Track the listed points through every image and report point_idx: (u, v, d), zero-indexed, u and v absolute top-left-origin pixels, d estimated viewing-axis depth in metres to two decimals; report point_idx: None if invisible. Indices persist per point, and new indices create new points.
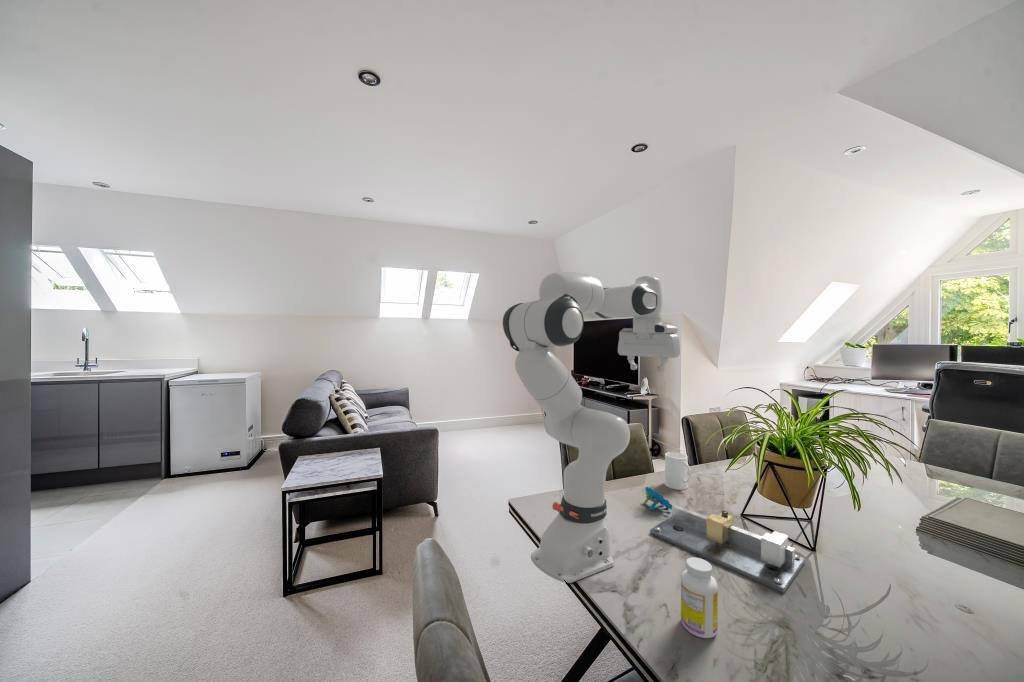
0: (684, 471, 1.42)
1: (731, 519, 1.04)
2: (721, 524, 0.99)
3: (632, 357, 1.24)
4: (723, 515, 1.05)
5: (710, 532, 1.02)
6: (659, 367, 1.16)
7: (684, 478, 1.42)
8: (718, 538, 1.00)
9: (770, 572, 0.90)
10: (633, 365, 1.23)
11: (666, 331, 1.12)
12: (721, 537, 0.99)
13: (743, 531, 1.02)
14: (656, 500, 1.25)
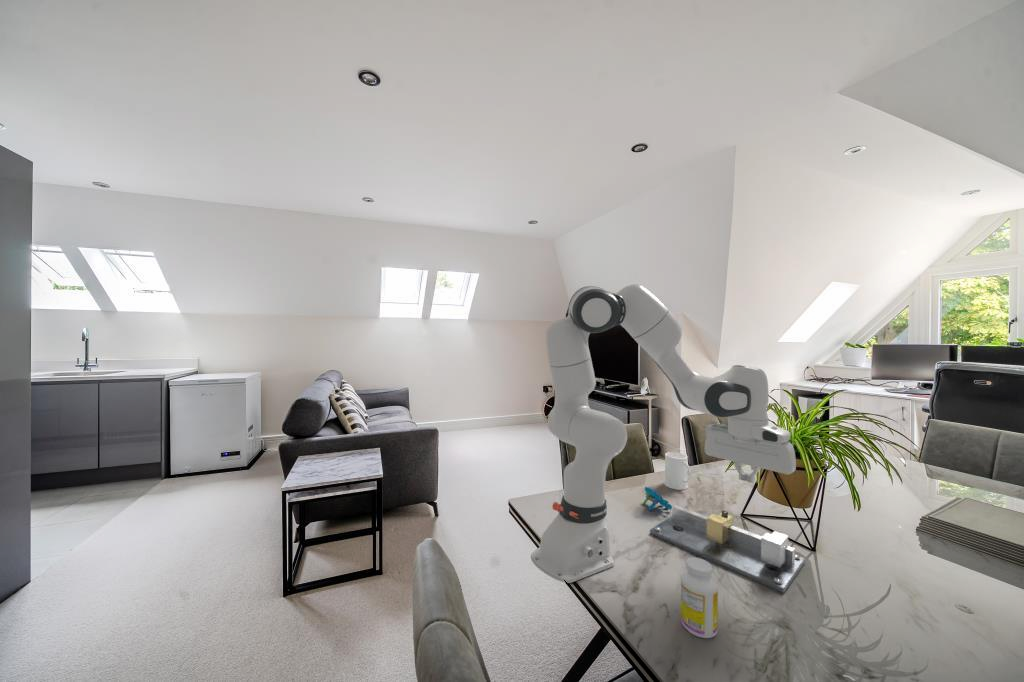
0: (684, 471, 1.42)
1: (731, 519, 1.04)
2: (721, 524, 0.99)
3: (741, 464, 0.97)
4: (723, 515, 1.05)
5: (710, 532, 1.02)
6: (748, 476, 0.95)
7: (684, 478, 1.42)
8: (718, 538, 1.00)
9: (770, 572, 0.90)
10: (743, 475, 0.96)
11: (780, 441, 0.88)
12: (721, 537, 0.99)
13: (743, 531, 1.02)
14: (655, 500, 1.25)
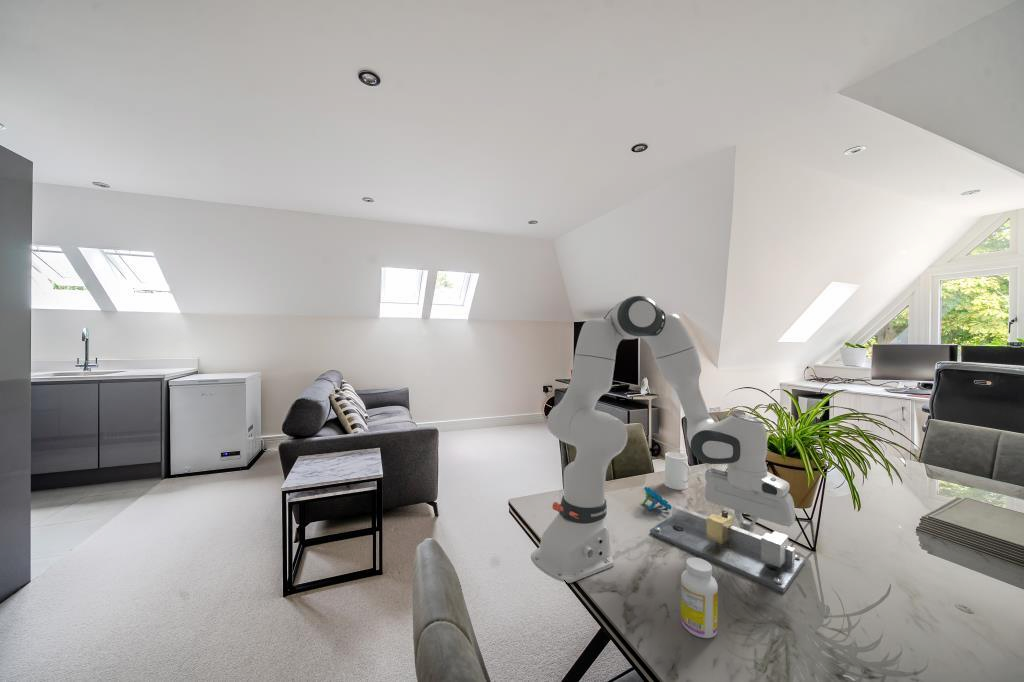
0: (684, 471, 1.42)
1: (731, 519, 1.04)
2: (721, 524, 0.99)
3: (741, 512, 0.98)
4: (723, 515, 1.05)
5: (710, 532, 1.02)
6: (748, 525, 0.96)
7: (684, 478, 1.42)
8: (718, 538, 1.00)
9: (770, 572, 0.90)
10: (744, 524, 0.97)
11: (780, 495, 0.89)
12: (721, 537, 0.99)
13: (743, 531, 1.02)
14: (655, 500, 1.25)
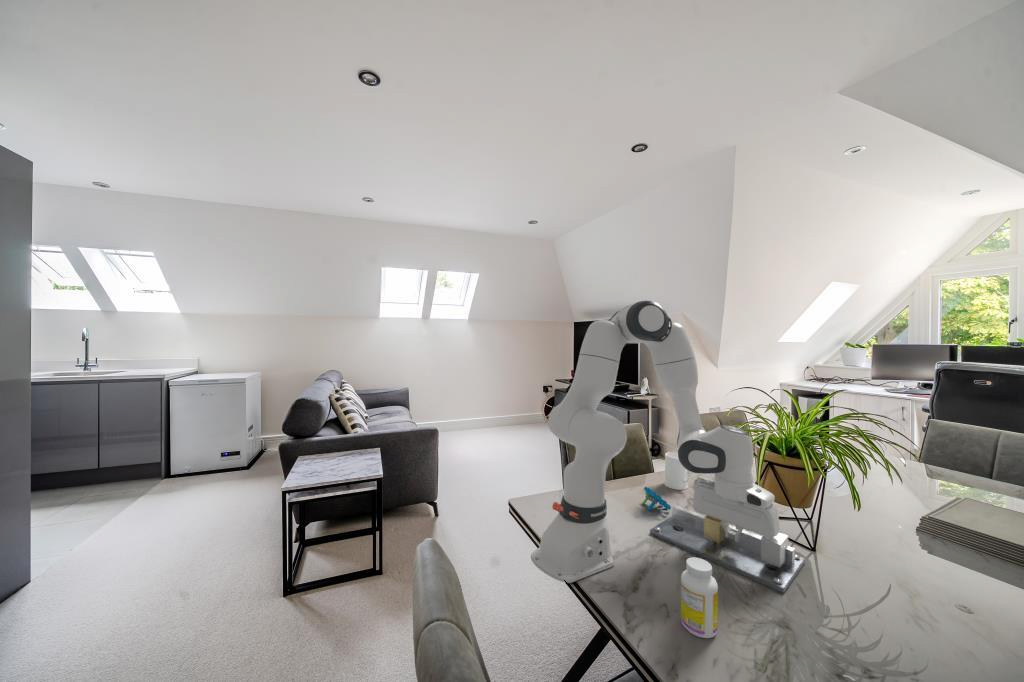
0: (684, 471, 1.42)
1: None
2: (718, 523, 1.00)
3: (727, 522, 1.00)
4: None
5: (707, 531, 1.02)
6: (733, 535, 0.98)
7: (684, 478, 1.42)
8: (715, 537, 1.01)
9: (770, 572, 0.90)
10: (729, 534, 0.99)
11: (764, 506, 0.91)
12: (718, 536, 1.00)
13: (743, 531, 1.02)
14: (654, 500, 1.25)
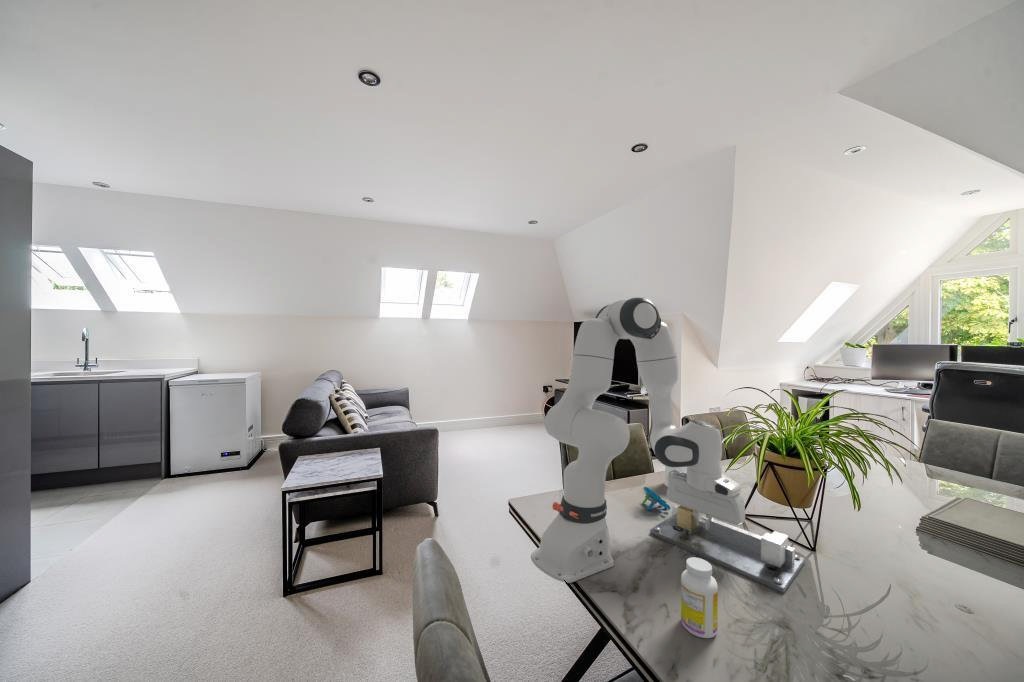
0: (684, 471, 1.42)
1: None
2: (690, 512, 1.06)
3: (698, 511, 1.06)
4: None
5: (680, 520, 1.08)
6: (704, 523, 1.04)
7: None
8: (687, 526, 1.06)
9: (770, 572, 0.90)
10: (700, 522, 1.05)
11: (730, 495, 0.97)
12: (690, 525, 1.06)
13: (743, 531, 1.02)
14: (654, 500, 1.25)
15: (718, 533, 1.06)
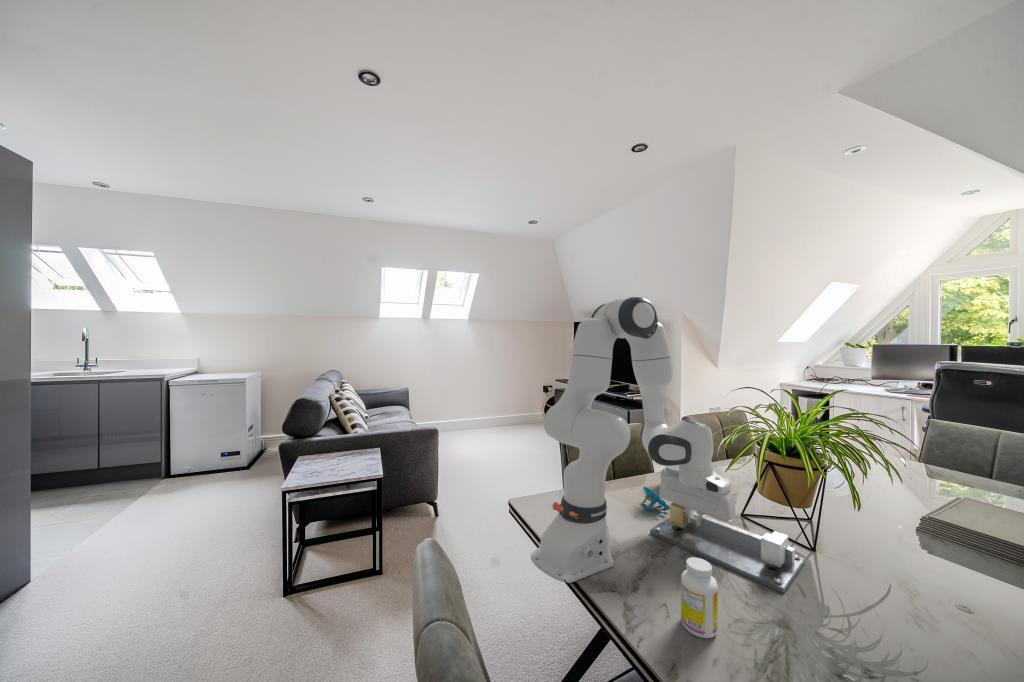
0: None
1: None
2: (682, 510, 1.08)
3: (690, 508, 1.07)
4: None
5: (672, 517, 1.10)
6: (695, 520, 1.06)
7: None
8: (679, 523, 1.08)
9: (770, 572, 0.90)
10: (692, 519, 1.06)
11: (720, 492, 0.98)
12: (682, 522, 1.08)
13: (743, 531, 1.02)
14: (653, 500, 1.25)
15: (718, 533, 1.06)
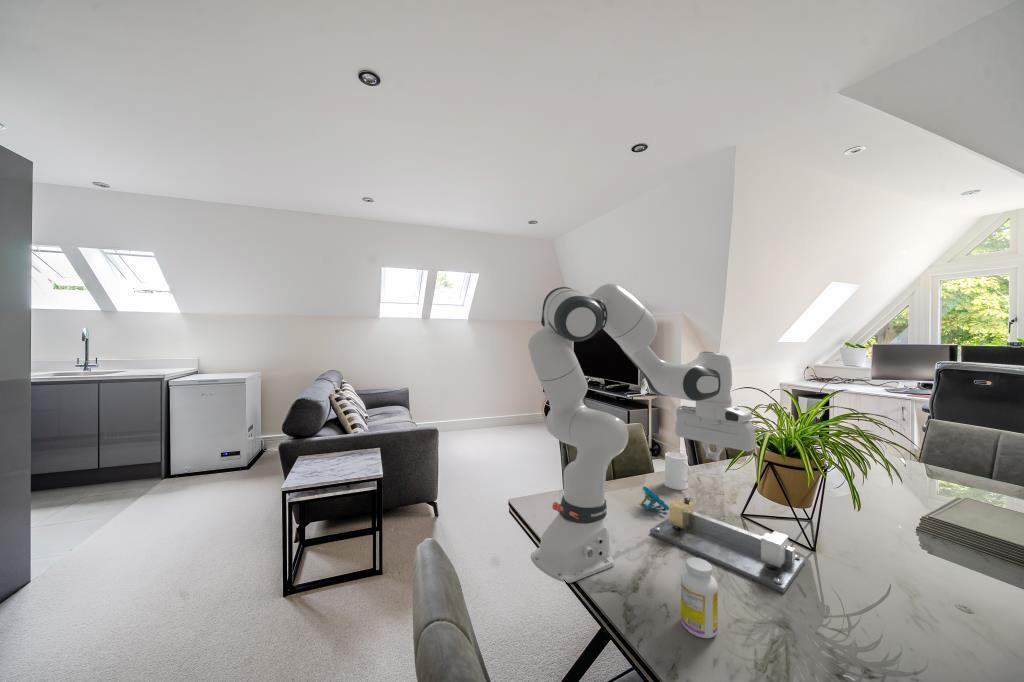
0: (684, 471, 1.42)
1: (692, 505, 1.13)
2: (681, 509, 1.08)
3: (708, 444, 1.04)
4: (685, 502, 1.13)
5: (672, 517, 1.10)
6: (713, 455, 1.02)
7: (684, 478, 1.42)
8: (679, 522, 1.08)
9: (770, 572, 0.90)
10: (710, 454, 1.03)
11: (741, 421, 0.95)
12: (681, 521, 1.08)
13: (743, 531, 1.02)
14: (652, 500, 1.25)
15: (718, 533, 1.06)
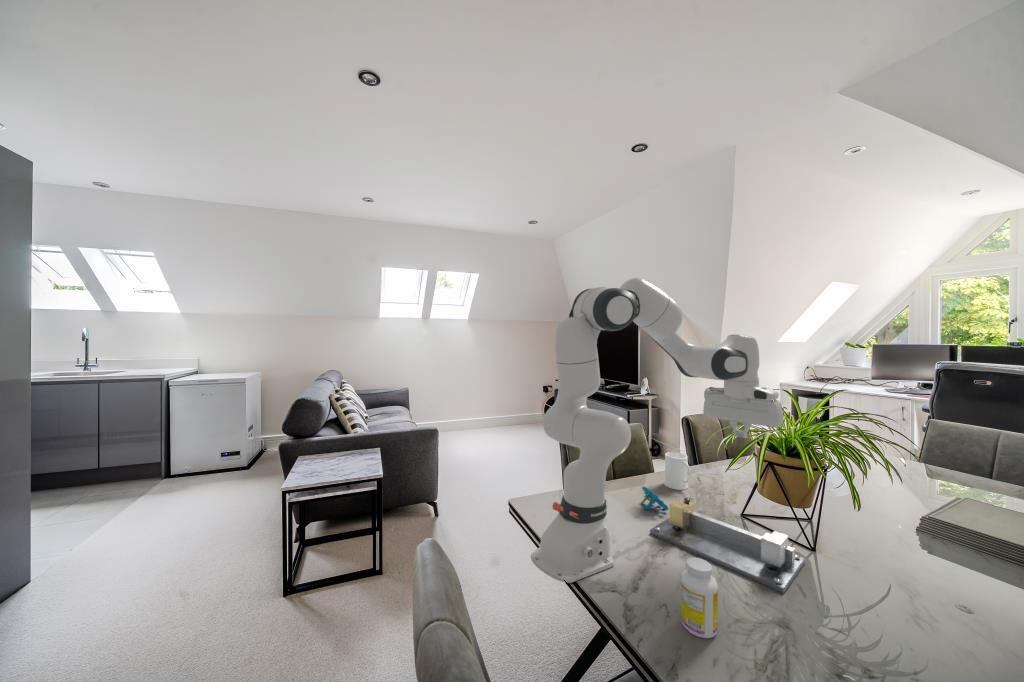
0: (684, 471, 1.42)
1: (692, 505, 1.13)
2: (681, 509, 1.08)
3: (735, 422, 1.10)
4: (685, 502, 1.13)
5: (672, 517, 1.10)
6: (741, 432, 1.08)
7: (684, 478, 1.42)
8: (679, 522, 1.08)
9: (770, 572, 0.90)
10: (738, 432, 1.09)
11: (769, 398, 1.01)
12: (681, 521, 1.08)
13: (743, 531, 1.02)
14: (652, 500, 1.25)
15: (718, 533, 1.06)
